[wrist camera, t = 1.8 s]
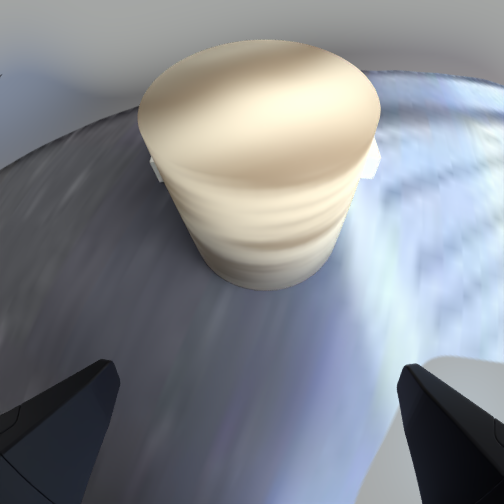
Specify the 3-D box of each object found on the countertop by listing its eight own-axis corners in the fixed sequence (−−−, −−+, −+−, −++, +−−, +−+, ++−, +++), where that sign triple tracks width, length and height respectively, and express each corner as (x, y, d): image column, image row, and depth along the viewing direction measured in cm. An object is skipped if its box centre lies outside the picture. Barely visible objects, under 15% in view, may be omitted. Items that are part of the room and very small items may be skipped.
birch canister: (365, 244, 19) (427, 123, 9) (235, 319, 18) (186, 232, 8) (287, 150, 23) (290, 28, 13) (175, 202, 22) (120, 84, 12)
